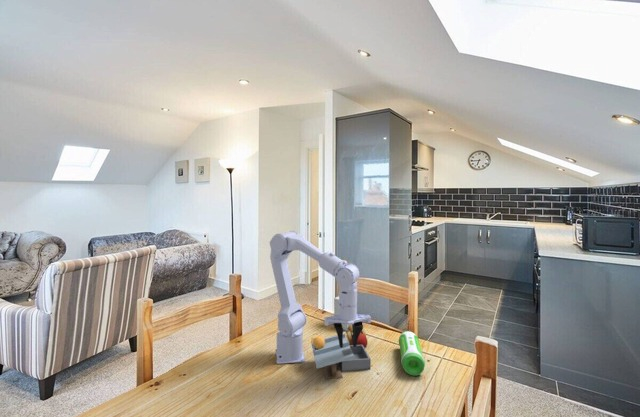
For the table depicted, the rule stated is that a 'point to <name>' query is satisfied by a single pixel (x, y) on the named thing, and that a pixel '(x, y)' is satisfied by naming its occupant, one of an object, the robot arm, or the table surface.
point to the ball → (318, 342)
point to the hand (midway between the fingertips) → (347, 345)
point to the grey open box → (357, 360)
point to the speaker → (411, 353)
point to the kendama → (361, 339)
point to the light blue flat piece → (332, 352)
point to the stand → (333, 371)
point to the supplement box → (336, 312)
